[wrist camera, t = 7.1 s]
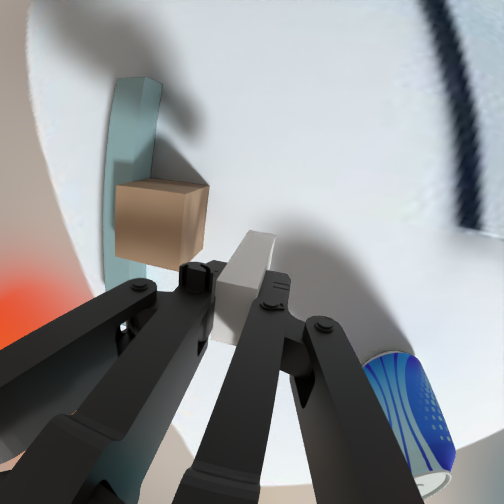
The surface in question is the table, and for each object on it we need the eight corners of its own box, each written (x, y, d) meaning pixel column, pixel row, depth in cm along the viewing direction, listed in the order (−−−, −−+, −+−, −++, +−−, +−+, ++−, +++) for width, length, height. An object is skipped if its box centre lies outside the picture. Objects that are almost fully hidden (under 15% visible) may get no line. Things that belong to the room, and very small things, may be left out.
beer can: (341, 361, 30) (354, 490, 15) (413, 333, 27) (466, 451, 12) (359, 406, 31) (371, 518, 16) (422, 383, 29) (458, 489, 14)
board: (136, 85, 24) (116, 78, 21) (162, 84, 24) (145, 76, 20) (124, 305, 32) (108, 320, 29) (146, 312, 32) (131, 328, 28)
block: (151, 177, 27) (116, 185, 21) (209, 185, 26) (185, 194, 21) (147, 237, 29) (115, 256, 23) (202, 248, 28) (179, 271, 23)
